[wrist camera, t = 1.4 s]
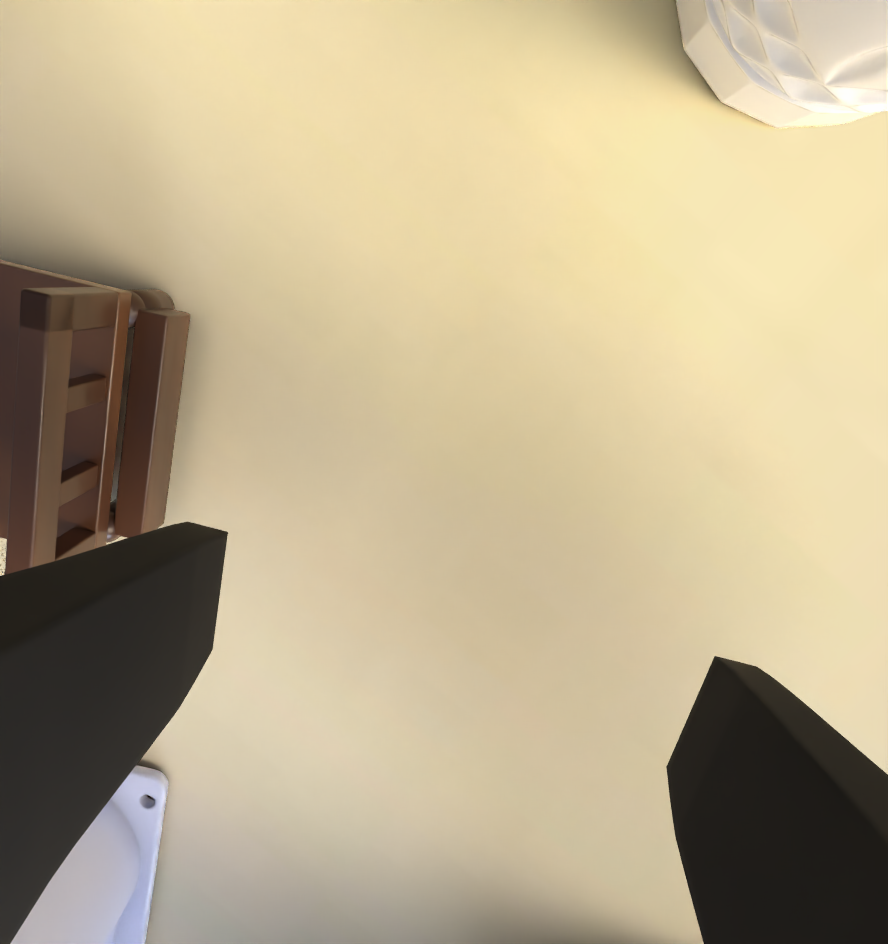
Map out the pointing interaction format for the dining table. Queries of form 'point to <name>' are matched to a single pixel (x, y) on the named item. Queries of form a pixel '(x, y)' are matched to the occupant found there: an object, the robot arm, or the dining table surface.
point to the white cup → (791, 57)
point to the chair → (83, 412)
